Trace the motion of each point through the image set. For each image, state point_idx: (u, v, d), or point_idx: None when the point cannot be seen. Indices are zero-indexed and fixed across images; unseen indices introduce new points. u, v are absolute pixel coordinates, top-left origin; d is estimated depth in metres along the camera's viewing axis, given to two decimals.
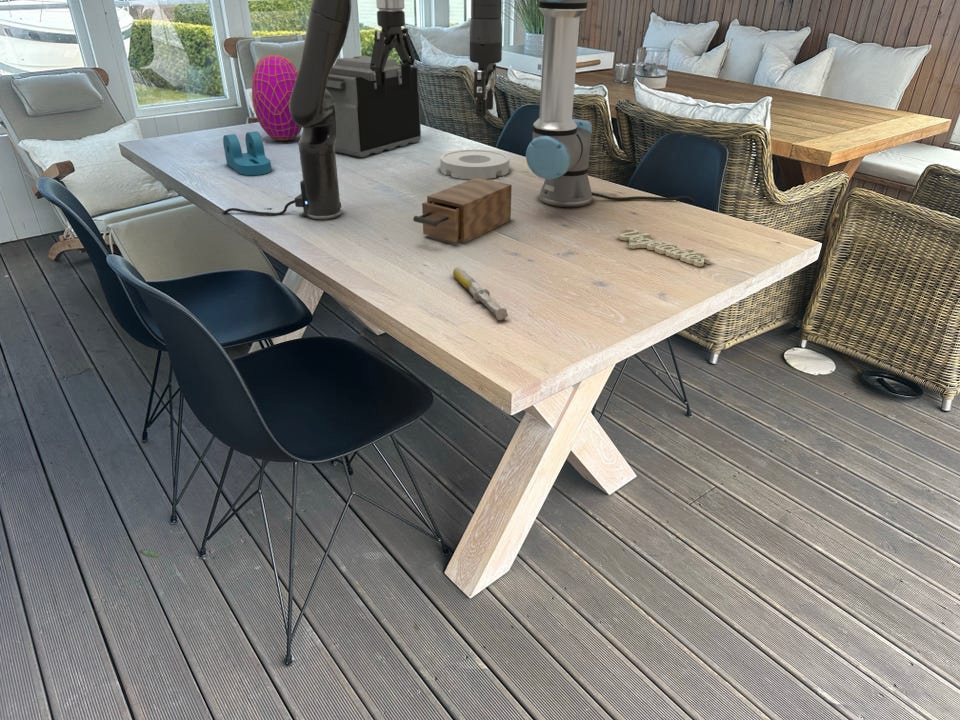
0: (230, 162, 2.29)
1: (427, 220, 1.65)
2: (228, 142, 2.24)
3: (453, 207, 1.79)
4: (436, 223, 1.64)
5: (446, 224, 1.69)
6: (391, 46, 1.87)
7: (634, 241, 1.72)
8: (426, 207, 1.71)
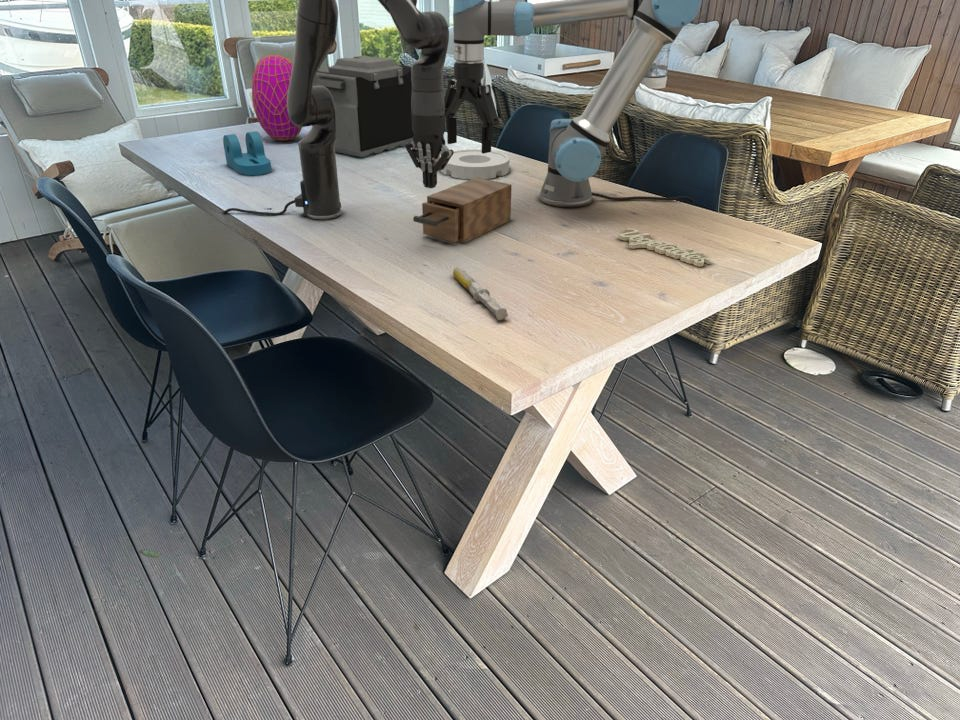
0: (230, 162, 2.29)
1: (427, 220, 1.65)
2: (228, 142, 2.24)
3: (453, 207, 1.79)
4: (436, 223, 1.64)
5: (446, 224, 1.69)
6: None
7: (634, 241, 1.72)
8: (426, 207, 1.71)
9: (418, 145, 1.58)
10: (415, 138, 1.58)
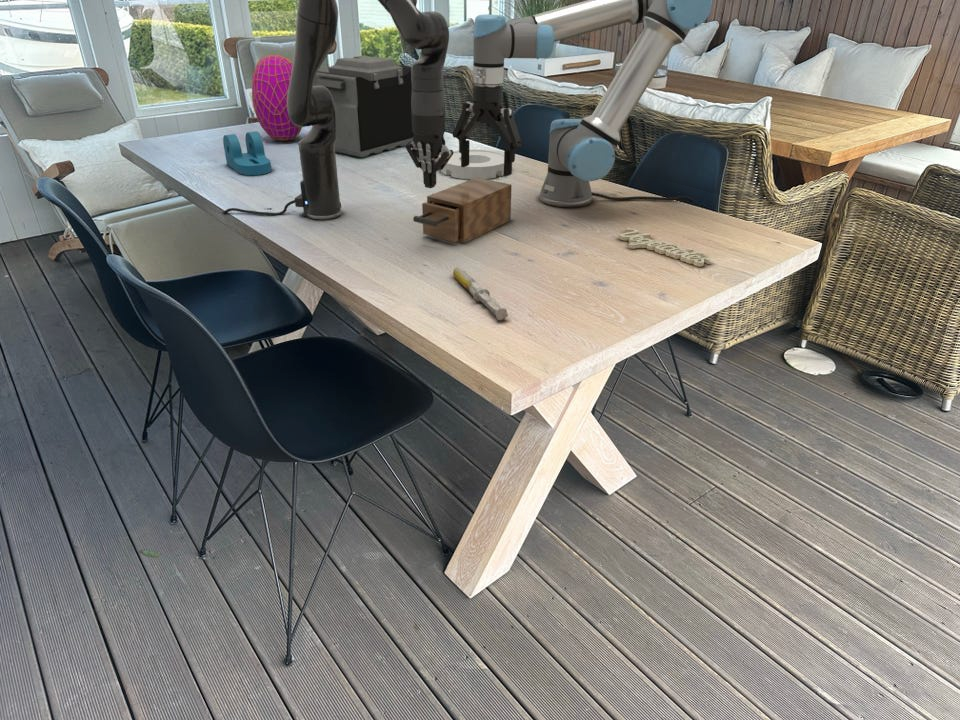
0: (230, 162, 2.29)
1: (427, 220, 1.65)
2: (228, 142, 2.24)
3: (453, 207, 1.79)
4: (436, 223, 1.64)
5: (446, 224, 1.69)
6: None
7: (634, 241, 1.72)
8: (426, 207, 1.71)
9: (418, 145, 1.58)
10: (415, 138, 1.58)
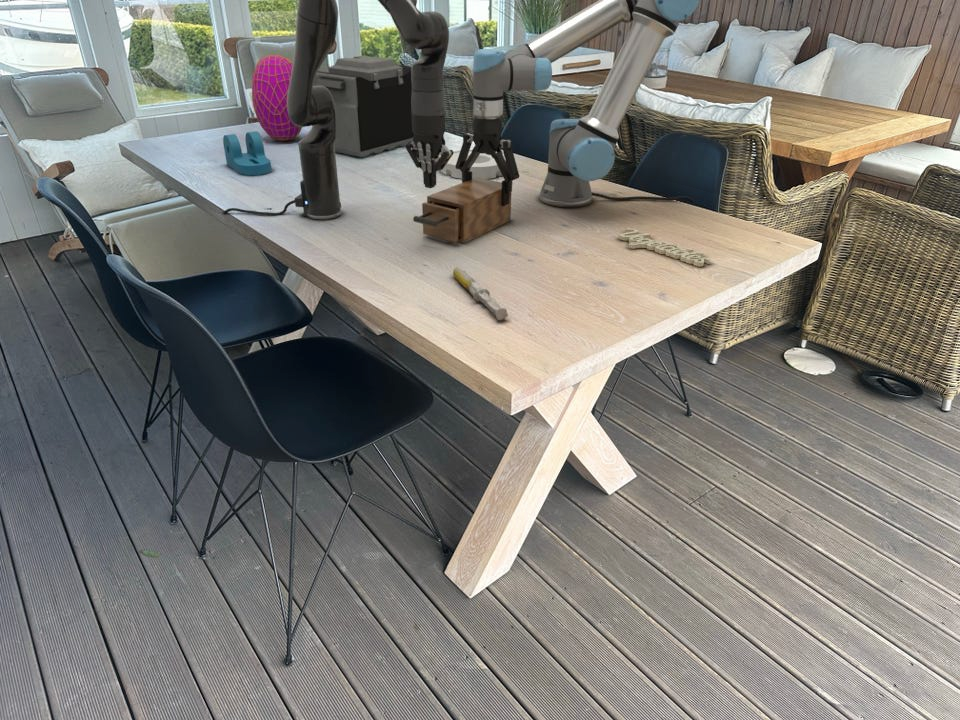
0: (230, 162, 2.29)
1: (427, 220, 1.65)
2: (228, 142, 2.24)
3: (453, 207, 1.79)
4: (436, 223, 1.64)
5: (446, 224, 1.69)
6: None
7: (634, 241, 1.72)
8: (426, 207, 1.71)
9: (418, 145, 1.58)
10: (415, 138, 1.58)
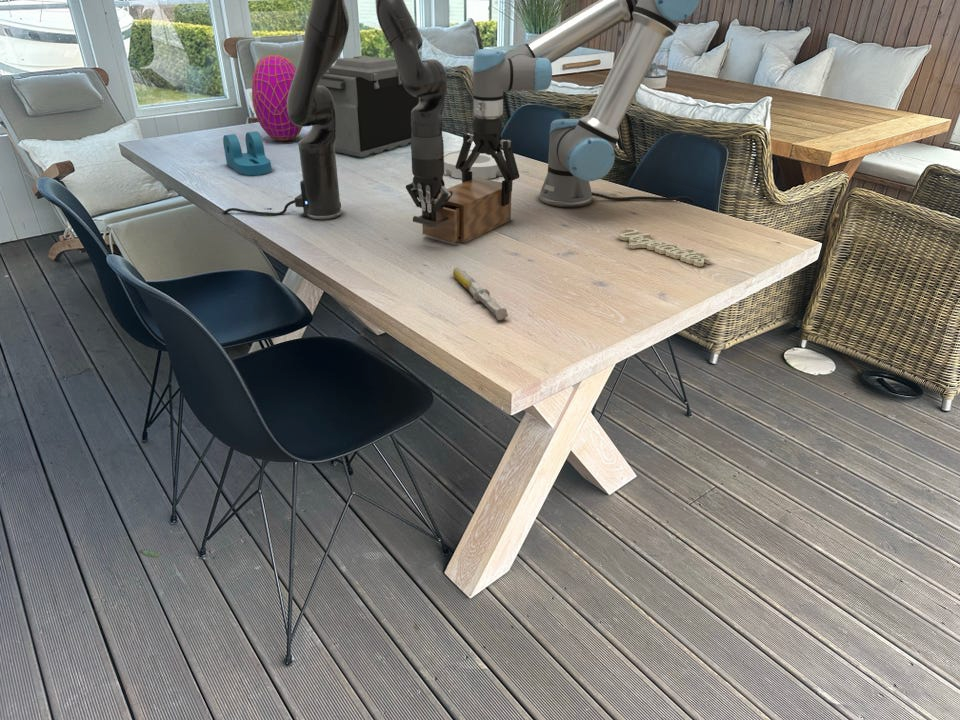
0: (230, 162, 2.29)
1: (426, 220, 1.65)
2: (228, 142, 2.24)
3: (453, 207, 1.79)
4: (435, 223, 1.64)
5: (445, 224, 1.69)
6: None
7: (634, 241, 1.72)
8: None
9: (418, 186, 1.62)
10: (415, 179, 1.63)
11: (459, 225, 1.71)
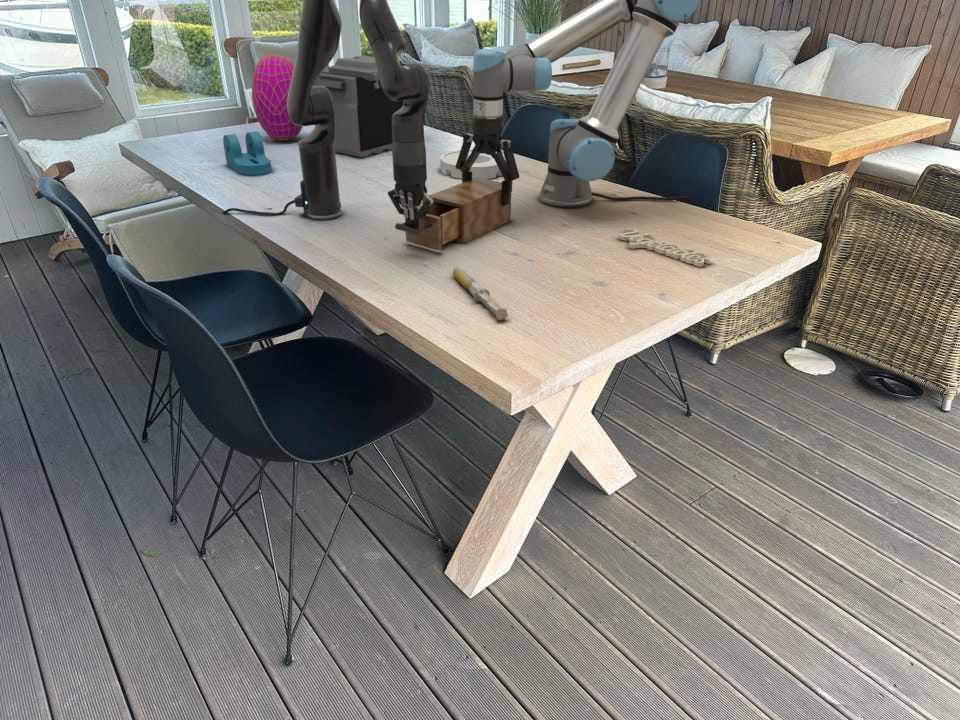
0: (230, 162, 2.29)
1: (409, 228, 1.60)
2: (228, 142, 2.24)
3: (437, 214, 1.75)
4: (418, 231, 1.60)
5: (429, 232, 1.64)
6: None
7: (634, 241, 1.72)
8: None
9: (400, 193, 1.57)
10: (397, 186, 1.58)
11: (443, 232, 1.66)
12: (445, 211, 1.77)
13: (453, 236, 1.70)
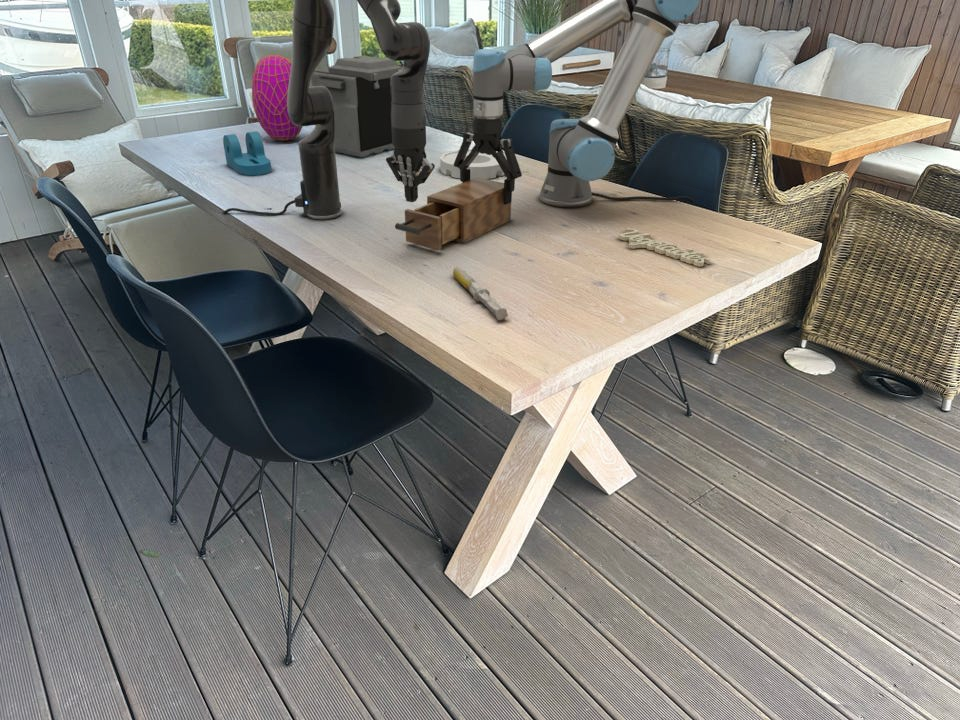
0: (230, 162, 2.29)
1: (409, 228, 1.60)
2: (228, 142, 2.24)
3: (437, 214, 1.75)
4: (418, 231, 1.60)
5: (429, 232, 1.64)
6: None
7: (634, 241, 1.72)
8: (409, 214, 1.66)
9: (399, 158, 1.53)
10: (395, 151, 1.54)
11: (443, 232, 1.66)
12: (445, 211, 1.77)
13: (453, 236, 1.70)
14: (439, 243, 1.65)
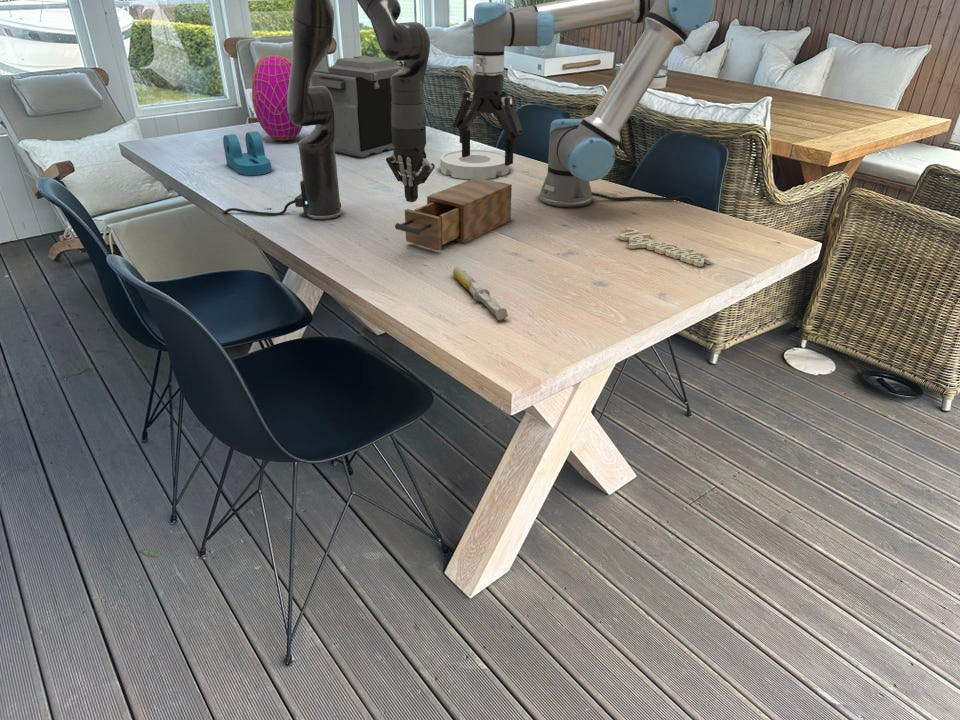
0: (230, 162, 2.29)
1: (409, 228, 1.60)
2: (228, 142, 2.24)
3: (437, 214, 1.75)
4: (418, 231, 1.60)
5: (429, 232, 1.64)
6: None
7: (634, 241, 1.72)
8: (409, 214, 1.66)
9: (399, 158, 1.53)
10: (395, 151, 1.54)
11: (443, 232, 1.66)
12: (445, 211, 1.77)
13: (453, 236, 1.70)
14: (439, 243, 1.65)
